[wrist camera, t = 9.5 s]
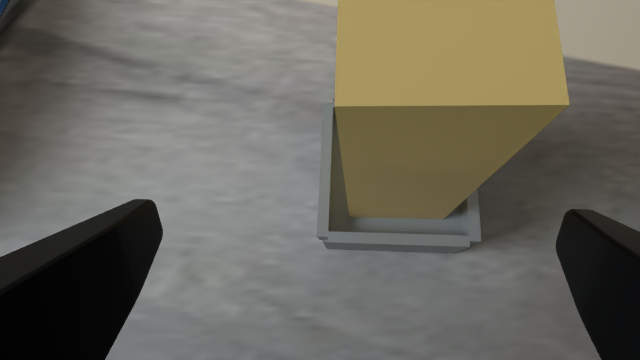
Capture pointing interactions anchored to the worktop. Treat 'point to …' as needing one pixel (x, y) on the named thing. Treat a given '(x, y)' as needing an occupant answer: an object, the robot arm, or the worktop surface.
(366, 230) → the base tray
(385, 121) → the mustard brick
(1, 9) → the stack of blocks
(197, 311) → the worktop surface
